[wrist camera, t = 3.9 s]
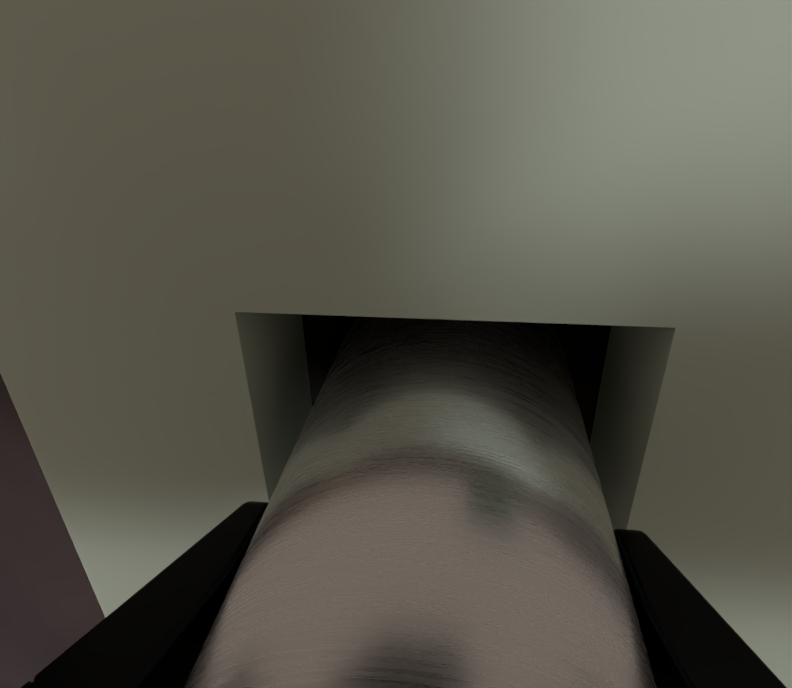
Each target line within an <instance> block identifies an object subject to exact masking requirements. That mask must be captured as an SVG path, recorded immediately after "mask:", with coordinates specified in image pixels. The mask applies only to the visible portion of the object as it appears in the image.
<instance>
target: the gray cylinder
mask: <svg viewBox="0 0 792 688" xmlns="http://www.w3.org/2000/svg"><path fill="white" fill-rule="evenodd" d="M184 688H657V686H656V682H655V679H654V675H653V672H652V668H651V664H650V661H649V657H648V654H647V650H646V646H645V643H644V639H643V635H642V632H641V628H640V625H639V621H638V617H637V614H636V610H635V607H634V603H633V599H632V596H631V592H630V589H629V585H628V581H627V578H626V574H625V570H624V567H623V563H622V560H621V556H620V552H619V549H618V545H617V542H616V538H615V534H614V531H613V527H612V524H611V520H610V516H609V513H608V509H607V505H606V502H605V498H604V495H603V491H602V487H601V484H600V480H599V477H598V473H597V469H596V466H595V462H594V459H593V455H592V451H591V448H590V444H589V440H588V437H587V433H586V430H585V426H584V422H583V419H582V415H581V412H580V408H579V404H578V401H577V397H576V394H575V390H574V386H573V383H572V379H571V375H570V372H569V368H568V365H567V361H566V357H565V354H564V352H563V349H562V347H561V345H560V342H559V340H558V339H557V337H556V336H555V334H554V332H553V331H552V329H551V328H550V327H549V326H548V324H547V323H529V322H501V321H473V320H445V319H417V318H389V317H361V316H359V317H358V318H357V319H356V320H355V321H354V323H353V324H352V326H351V327H350V329H349V330H348V332H347V333H346V335H345V337H344V340H343V342H342V344H341V346H340V348H339V350H338V352H337V355H336V357H335V359H334V361H333V363H332V366H331V368H330V370H329V372H328V374H327V376H326V379H325V381H324V383H323V385H322V387H321V390H320V392H319V394H318V396H317V398H316V400H315V403H314V405H313V407H312V409H311V411H310V414H309V416H308V418H307V420H306V422H305V424H304V427H303V429H302V431H301V433H300V435H299V438H298V440H297V442H296V444H295V446H294V448H293V451H292V453H291V455H290V457H289V459H288V462H287V464H286V466H285V468H284V470H283V472H282V475H281V477H280V479H279V481H278V483H277V486H276V488H275V490H274V492H273V494H272V496H271V499H270V501H269V503H268V505H267V507H266V510H265V512H264V514H263V516H262V518H261V520H260V523H259V525H258V527H257V529H256V531H255V534H254V536H253V538H252V540H251V542H250V544H249V547H248V549H247V551H246V553H245V555H244V558H243V560H242V562H241V564H240V566H239V568H238V571H237V573H236V575H235V577H234V579H233V582H232V584H231V586H230V588H229V590H228V592H227V595H226V597H225V599H224V601H223V603H222V606H221V608H220V610H219V612H218V614H217V616H216V619H215V621H214V623H213V625H212V627H211V630H210V632H209V634H208V636H207V638H206V640H205V643H204V645H203V647H202V649H201V651H200V654H199V656H198V658H197V660H196V662H195V664H194V667H193V669H192V671H191V673H190V675H189V677H188V680H187V682H186V684H185V686H184Z"/></svg>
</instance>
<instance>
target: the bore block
mask: <svg viewBox="0 0 792 688" xmlns="http://www.w3.org/2000/svg"><path fill="white" fill-rule="evenodd" d="M302 314H305V315H333V316H361V317H389V318H417V319H445V320H473V321H501V322H529V323H557V324H585V325H611V329H610V334H609V340H608V345H607V351H606V356H605V362H604V368H603V373H602V379H601V384H600V390H599V395H598V401H597V406H596V412H595V417H594V423H593V428H592V434H591V439H590V448H591V451H592V455H593V459H594V462H595V466H596V469H597V473H598V477H599V480H600V484H601V487H602V491H603V495H604V498H605V502H606V505H607V509H608V513H609V516H610V520H611V524H612V527H613V530H615V529H628V530H639V531H642V532H644V533H645V534H646V535H648V537H649V538H650V539H651V540H652V541H653V542H654V543H655V544H656V545H657V546H658V547H659V549H660V550H661V551H662V552H663V553H664V554H665V555H666V556H667V557H668V558H669V559H670V561H671V562H672V563H673V564H674V565H675V566H676V567H677V568H678V569H679V570H680V571H681V573H682V574H683V575H684V576H685V577H686V578H687V579H688V580H689V581H690V582H691V583H692V585H693V586H694V587H695V588H696V589H697V590H698V591H699V592H700V593H701V594H702V596H703V597H704V598H705V599H706V600H707V601H708V602H709V603H710V604H711V605H712V606H713V608H714V609H715V610H716V611H717V612H718V613H719V614H720V615H721V616H722V617H723V618H724V620H725V621H726V622H727V623H728V624H729V625H730V626H731V627H732V628H733V629H734V630H735V632H736V633H737V634H738V635H739V636H740V637H741V638H742V639H743V640H744V641H745V642H746V644H747V645H748V646H749V647H750V648H751V649H752V650H753V651H754V652H755V653H756V654H757V656H758V657H759V658H760V659H761V660H762V661H763V662H764V663H765V664H766V665H767V666H768V668H769V669H770V670H771V671H772V672H773V673H774V674H775V675H776V676H777V677H778V679H779V680H780V681H781V682H782V683H783V684H784V685H785V686H786V687H787V688H792V0H0V374H1V376H2V378H3V381H4V383H5V385H6V388H7V390H8V392H9V395H10V397H11V399H12V402H13V404H14V406H15V409H16V411H17V413H18V416H19V418H20V420H21V423H22V425H23V427H24V430H25V432H26V434H27V437H28V439H29V441H30V443H31V446H32V448H33V450H34V453H35V455H36V457H37V460H38V462H39V464H40V467H41V469H42V471H43V474H44V476H45V478H46V481H47V483H48V485H49V488H50V490H51V492H52V495H53V497H54V499H55V502H56V504H57V506H58V509H59V511H60V513H61V516H62V518H63V520H64V523H65V525H66V527H67V529H68V532H69V534H70V536H71V539H72V541H73V543H74V546H75V548H76V550H77V553H78V555H79V557H80V560H81V562H82V564H83V567H84V569H85V571H86V574H87V576H88V578H89V581H90V583H91V585H92V588H93V590H94V592H95V595H96V597H97V599H98V602H99V604H100V606H101V609H102V611H103V613H104V616H105V618H106V617H107V616H108V615H109V614H111V613H112V612H113V611H114V610H116V609H117V608H118V607H119V606H120V605H122V604H123V603H124V602H125V601H126V600H128V599H129V598H130V597H131V596H132V595H134V594H135V593H136V592H137V591H138V590H140V589H141V588H142V587H143V586H144V585H146V584H147V583H148V582H149V581H151V580H152V579H153V578H154V577H155V576H157V575H158V574H159V573H160V572H161V571H163V570H164V569H165V568H166V567H167V566H169V565H170V564H171V563H172V562H173V561H175V560H176V559H177V558H178V557H179V556H181V555H182V554H183V553H184V552H186V551H187V550H188V549H189V548H190V547H192V546H193V545H194V544H195V543H196V542H198V541H199V540H200V539H201V538H202V537H204V536H205V535H206V534H207V533H208V532H210V531H211V530H212V529H213V528H214V527H216V526H217V525H218V524H219V523H221V522H222V521H223V520H224V519H225V518H227V517H228V516H229V515H230V514H231V513H233V512H234V511H235V510H236V509H237V508H239V507H240V506H241V505H242V504H244V503H246V502H248V501H256V502H269V501H270V499H271V496H272V494H273V492H274V490H275V488H276V486H277V483H278V481H279V479H280V477H281V475H282V472H283V470H284V468H285V466H286V464H287V462H288V459H289V457H290V455H291V453H292V451H293V448H294V446H295V444H296V442H297V440H298V438H299V435H300V433H301V431H302V429H303V427H304V424H305V422H306V420H307V418H308V416H309V414H310V411H311V409H312V407H313V406H312V398H311V389H310V381H309V372H308V364H307V355H306V346H305V338H304V329H303V321H302Z"/></svg>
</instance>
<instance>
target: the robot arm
mask: <svg viewBox="0 0 792 688" xmlns="http://www.w3.org/2000/svg"><path fill="white" fill-rule="evenodd" d="M268 503H269V502H256V501H248V502H246V503H244V504H242V505H241V506H240V507H239V508H237V509H236V510H235V511H234V512H233V513H231V514H230V515H229V516H228V517H227V518H225V519H224V520H223V521H222V522H221V523H219V524H218V525H217V526H216V527H214V528H213V529H212V530H211V531H210V532H208V533H207V534H206V535H205V536H204V537H202V538H201V539H200V540H199V541H198V542H196V543H195V544H194V545H193V546H192V547H190V548H189V549H188V550H187V551H186V552H184V553H183V554H182V555H181V556H179V557H178V558H177V559H176V560H175V561H173V562H172V563H171V564H170V565H169V566H167V567H166V568H165V569H164V570H163V571H161V572H160V573H159V574H158V575H157V576H155V577H154V578H153V579H152V580H151V581H149V582H148V583H147V584H146V585H144V586H143V587H142V588H141V589H140V590H138V591H137V592H136V593H135V594H134V595H132V596H131V597H130V598H129V599H128V600H126V601H125V602H124V603H123V604H122V605H120V606H119V607H118V608H117V609H116V610H114V611H113V612H112V613H111V614H109V615H108V616H107V617H106V618H105V619H103V620H102V621H101V622H100V623H99V624H97V625H96V626H95V627H94V628H93V629H91V630H90V631H89V632H88V633H87V634H85V635H84V636H83V637H82V638H81V639H79V640H78V641H77V642H76V643H74V644H73V645H72V646H71V647H70V648H68V649H67V650H66V651H65V652H64V653H62V654H61V655H60V656H59V657H58V658H56V659H55V660H54V661H53V662H52V663H50V664H49V665H48V666H47V667H46V668H44V669H43V670H42V671H41V672H39V673H38V674H37V675H36V676H35V678H34V681H33V682H32V681H29V682H27V683H26V684H25V685H23V686H22V687H21V688H184V686H185V684H186V682H187V680H188V677H189V675H190V673H191V671H192V669H193V667H194V664H195V662H196V660H197V658H198V656H199V654H200V651H201V649H202V647H203V645H204V643H205V640H206V638H207V636H208V634H209V632H210V630H211V627H212V625H213V623H214V621H215V619H216V616H217V614H218V612H219V610H220V608H221V606H222V603H223V601H224V599H225V597H226V595H227V592H228V590H229V588H230V586H231V584H232V582H233V579H234V577H235V575H236V573H237V571H238V568H239V566H240V564H241V562H242V560H243V558H244V555H245V553H246V551H247V549H248V547H249V544H250V542H251V540H252V538H253V536H254V534H255V531H256V529H257V527H258V525H259V523H260V520H261V518H262V516H263V514H264V512H265V510H266V507H267V505H268ZM613 531H614V534H615V538H616V542H617V545H618V549H619V552H620V556H621V560H622V563H623V567H624V570H625V574H626V578H627V581H628V585H629V589H630V592H631V596H632V599H633V603H634V607H635V610H636V614H637V617H638V621H639V625H640V628H641V632H642V635H643V639H644V643H645V646H646V650H647V654H648V657H649V661H650V664H651V668H652V672H653V675H654V679H655V682H656V686H657V688H787V687H786V686H785V685H784V684H783V683H782V682H781V681H780V680H779V679H778V677H777V676H776V675H775V674H774V673H773V672H772V671H771V670H770V669H769V668H768V666H767V665H766V664H765V663H764V662H763V661H762V660H761V659H760V658H759V657H758V656H757V654H756V653H755V652H754V651H753V650H752V649H751V648H750V647H749V646H748V645H747V644H746V642H745V641H744V640H743V639H742V638H741V637H740V636H739V635H738V634H737V633H736V632H735V630H734V629H733V628H732V627H731V626H730V625H729V624H728V623H727V622H726V621H725V620H724V618H723V617H722V616H721V615H720V614H719V613H718V612H717V611H716V610H715V609H714V608H713V606H712V605H711V604H710V603H709V602H708V601H707V600H706V599H705V598H704V597H703V596H702V594H701V593H700V592H699V591H698V590H697V589H696V588H695V587H694V586H693V585H692V583H691V582H690V581H689V580H688V579H687V578H686V577H685V576H684V575H683V574H682V573H681V571H680V570H679V569H678V568H677V567H676V566H675V565H674V564H673V563H672V562H671V561H670V559H669V558H668V557H667V556H666V555H665V554H664V553H663V552H662V551H661V550H660V549H659V547H658V546H657V545H656V544H655V543H654V542H653V541H652V540H651V539H650V538H649V537H648V535H646V534H645V533H644V532H642V531H639V530H628V529H615V530H613Z"/></svg>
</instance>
